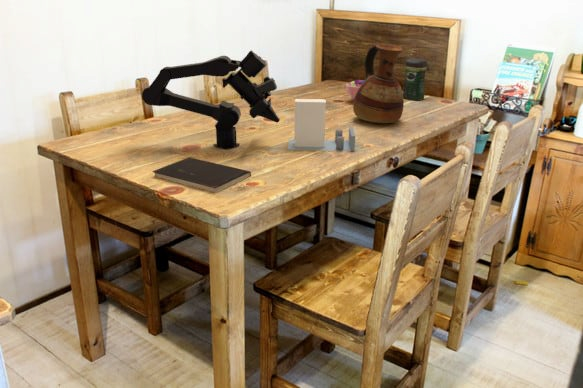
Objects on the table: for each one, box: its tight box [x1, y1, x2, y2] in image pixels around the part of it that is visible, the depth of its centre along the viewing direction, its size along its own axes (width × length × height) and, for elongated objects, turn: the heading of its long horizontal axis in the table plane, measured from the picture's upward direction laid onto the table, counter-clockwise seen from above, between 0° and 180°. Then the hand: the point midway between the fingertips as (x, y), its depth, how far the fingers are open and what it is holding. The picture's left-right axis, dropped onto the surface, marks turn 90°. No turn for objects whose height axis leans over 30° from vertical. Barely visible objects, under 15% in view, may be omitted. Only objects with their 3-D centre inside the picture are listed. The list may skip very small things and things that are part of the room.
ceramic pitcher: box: [352, 42, 405, 124], centre depth 214 cm, size 20×20×30 cm
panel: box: [293, 98, 327, 147], centre depth 182 cm, size 10×4×15 cm, turn 88°
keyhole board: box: [287, 126, 356, 152], centre depth 184 cm, size 22×12×6 cm, turn 88°
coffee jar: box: [402, 57, 428, 101], centre depth 256 cm, size 10×8×19 cm
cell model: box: [345, 79, 366, 100], centre depth 250 cm, size 17×20×11 cm
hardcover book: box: [152, 156, 252, 194], centre depth 158 cm, size 16×23×2 cm
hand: (278, 121), depth 182 cm, fingers closed
